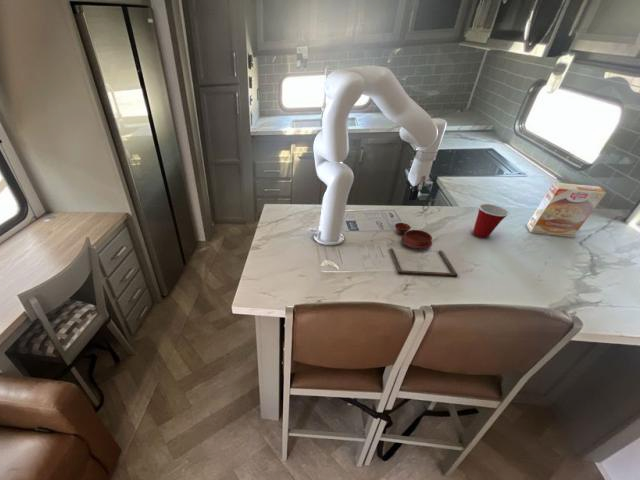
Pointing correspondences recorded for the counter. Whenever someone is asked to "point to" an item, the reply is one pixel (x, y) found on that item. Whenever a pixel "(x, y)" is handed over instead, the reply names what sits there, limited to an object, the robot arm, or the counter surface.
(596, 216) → the counter surface
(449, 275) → the frame
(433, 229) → the counter surface
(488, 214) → the plastic cup
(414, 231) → the pottery
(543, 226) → the coffeecake box
